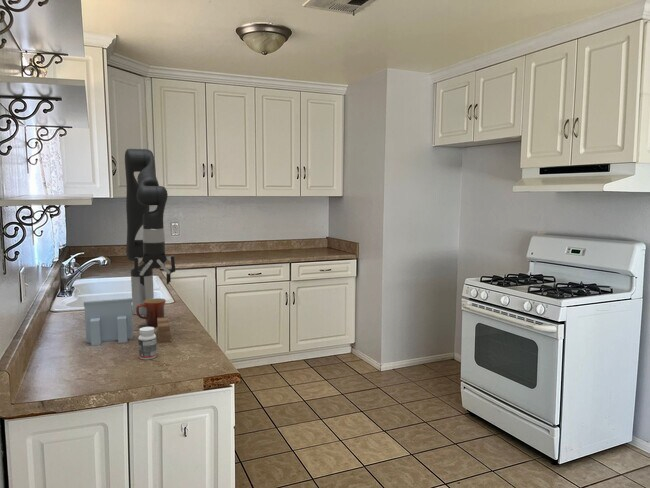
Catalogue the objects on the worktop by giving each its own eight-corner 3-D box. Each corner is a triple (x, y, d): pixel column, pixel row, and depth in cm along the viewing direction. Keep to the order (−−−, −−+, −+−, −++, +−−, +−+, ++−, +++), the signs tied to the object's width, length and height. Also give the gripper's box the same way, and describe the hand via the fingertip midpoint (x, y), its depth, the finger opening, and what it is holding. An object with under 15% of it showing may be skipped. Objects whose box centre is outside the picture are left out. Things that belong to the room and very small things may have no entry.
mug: (161, 320, 212) (161, 297, 210) (169, 325, 205) (169, 301, 204) (133, 325, 204) (132, 301, 203) (140, 330, 197) (139, 305, 196)
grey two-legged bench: (86, 341, 183) (84, 301, 182) (133, 337, 189) (132, 298, 187) (84, 346, 178) (82, 305, 176) (133, 341, 184) (131, 301, 182)
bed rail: (157, 332, 195) (157, 317, 194) (168, 331, 196) (167, 316, 196) (158, 343, 182) (158, 327, 181) (170, 342, 183) (170, 326, 183)
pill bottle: (139, 355, 169) (137, 327, 168) (156, 353, 171) (155, 325, 170) (139, 360, 164) (137, 331, 163) (157, 358, 166) (156, 330, 165)
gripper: (173, 239, 187) (175, 281, 189) (133, 240, 182) (135, 283, 184) (174, 241, 180) (176, 285, 182) (132, 242, 175) (134, 287, 177)
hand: (155, 284), depth 183 cm, fingers open, 8 cm apart
